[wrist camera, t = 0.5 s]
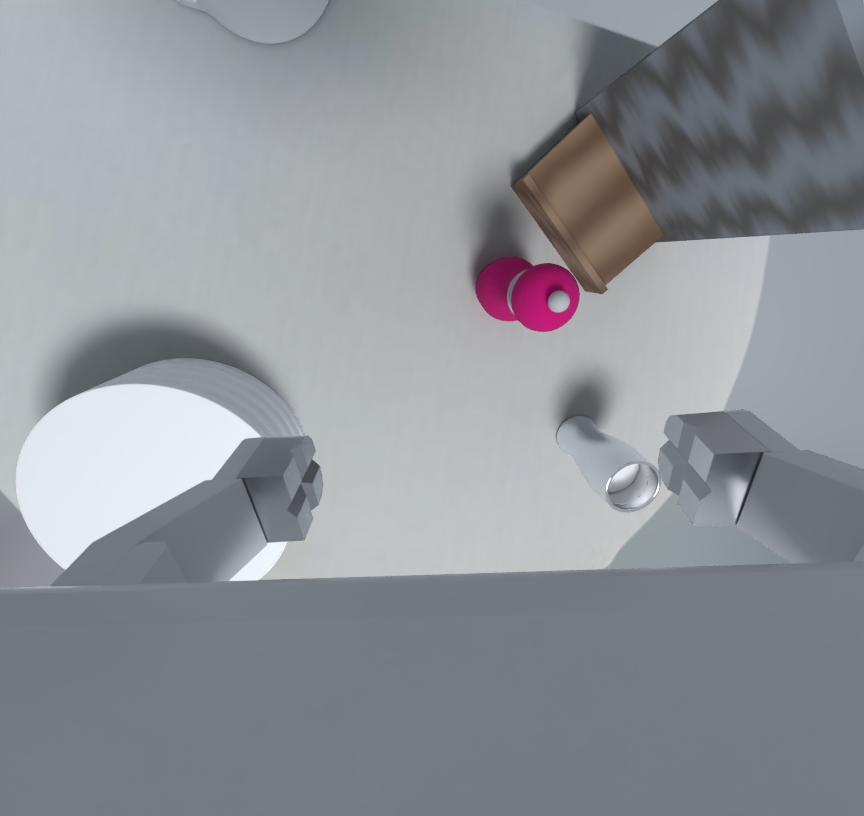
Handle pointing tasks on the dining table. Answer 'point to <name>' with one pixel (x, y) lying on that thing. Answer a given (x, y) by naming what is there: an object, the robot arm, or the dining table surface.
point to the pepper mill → (528, 293)
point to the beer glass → (609, 465)
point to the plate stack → (141, 450)
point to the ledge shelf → (713, 139)
